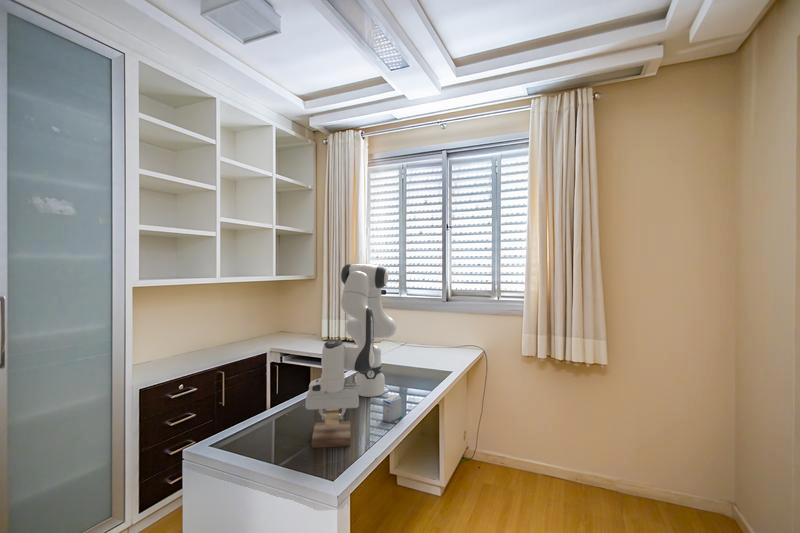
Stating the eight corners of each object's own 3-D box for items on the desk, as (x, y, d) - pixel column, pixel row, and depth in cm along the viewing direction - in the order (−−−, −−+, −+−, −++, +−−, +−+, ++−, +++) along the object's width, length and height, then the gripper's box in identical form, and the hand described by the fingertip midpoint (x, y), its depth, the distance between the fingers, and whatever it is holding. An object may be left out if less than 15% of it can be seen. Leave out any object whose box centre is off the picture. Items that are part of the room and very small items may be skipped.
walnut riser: (315, 430, 149) (315, 422, 149) (350, 428, 151) (350, 421, 151) (311, 447, 135) (311, 439, 135) (350, 445, 137) (350, 437, 137)
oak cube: (326, 421, 145) (326, 408, 145) (339, 420, 146) (339, 407, 146) (325, 426, 140) (325, 413, 140) (338, 426, 141) (338, 413, 141)
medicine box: (394, 414, 166) (394, 394, 166) (402, 417, 163) (402, 397, 163) (382, 419, 160) (382, 399, 160) (390, 423, 157) (390, 402, 157)
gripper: (359, 380, 147) (359, 414, 147) (306, 381, 144) (306, 416, 145) (360, 385, 141) (359, 421, 141) (304, 387, 138) (304, 424, 138)
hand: (332, 419), depth 143 cm, fingers closed on oak cube, 5 cm apart
